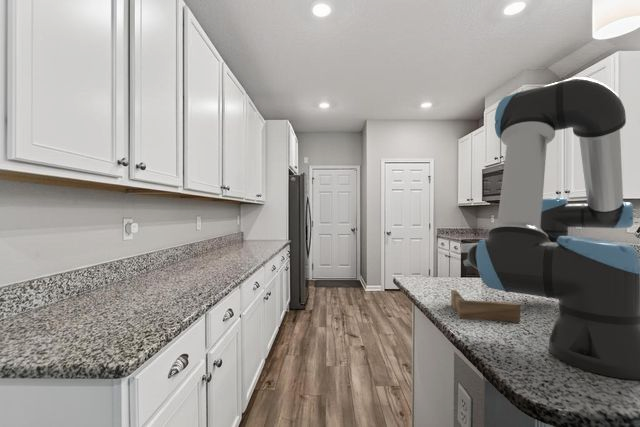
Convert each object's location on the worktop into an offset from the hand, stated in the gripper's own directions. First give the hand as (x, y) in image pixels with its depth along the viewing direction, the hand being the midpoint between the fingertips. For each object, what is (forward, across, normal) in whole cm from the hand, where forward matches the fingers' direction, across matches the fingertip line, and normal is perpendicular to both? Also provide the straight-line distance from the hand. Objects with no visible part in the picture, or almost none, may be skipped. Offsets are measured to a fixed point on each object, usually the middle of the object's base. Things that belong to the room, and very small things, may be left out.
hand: (473, 249), depth 89 cm
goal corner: (-1, -1, -18) cm, 18 cm away
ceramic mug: (-4, +1, -6) cm, 8 cm away
